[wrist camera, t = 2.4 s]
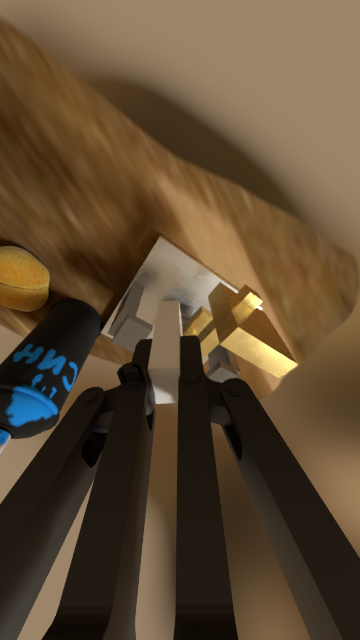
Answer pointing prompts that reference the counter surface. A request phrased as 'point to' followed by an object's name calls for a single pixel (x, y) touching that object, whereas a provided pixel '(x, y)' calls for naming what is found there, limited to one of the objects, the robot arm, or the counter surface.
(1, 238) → the counter surface
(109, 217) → the counter surface
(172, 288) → the socket base
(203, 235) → the counter surface
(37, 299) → the bread roll
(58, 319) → the aerosol can
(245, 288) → the gold branched bar piece
